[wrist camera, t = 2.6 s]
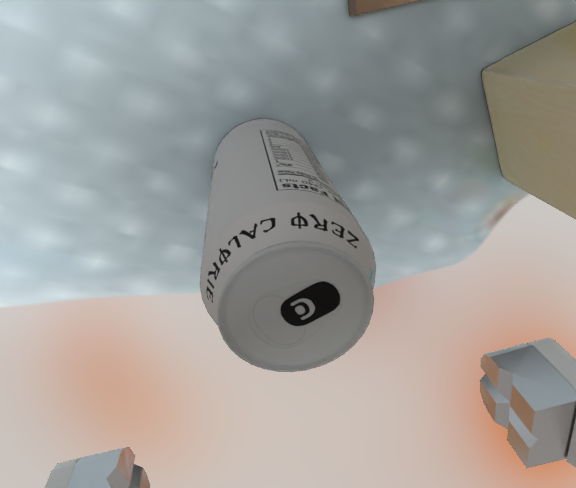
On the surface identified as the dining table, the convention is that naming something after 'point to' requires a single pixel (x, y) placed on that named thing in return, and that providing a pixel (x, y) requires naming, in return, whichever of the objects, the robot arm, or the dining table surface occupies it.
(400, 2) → the jig board
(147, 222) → the dining table surface
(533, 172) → the toy refrigerator
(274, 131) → the energy drink can
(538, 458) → the robot arm
